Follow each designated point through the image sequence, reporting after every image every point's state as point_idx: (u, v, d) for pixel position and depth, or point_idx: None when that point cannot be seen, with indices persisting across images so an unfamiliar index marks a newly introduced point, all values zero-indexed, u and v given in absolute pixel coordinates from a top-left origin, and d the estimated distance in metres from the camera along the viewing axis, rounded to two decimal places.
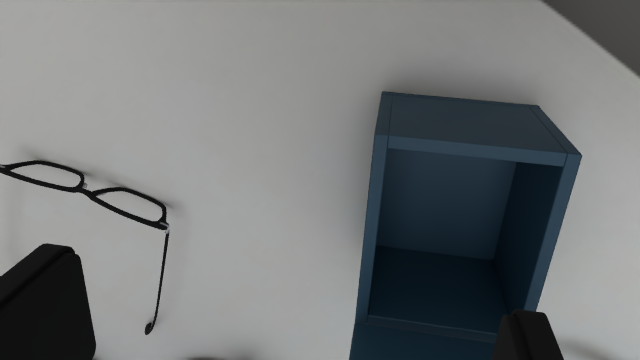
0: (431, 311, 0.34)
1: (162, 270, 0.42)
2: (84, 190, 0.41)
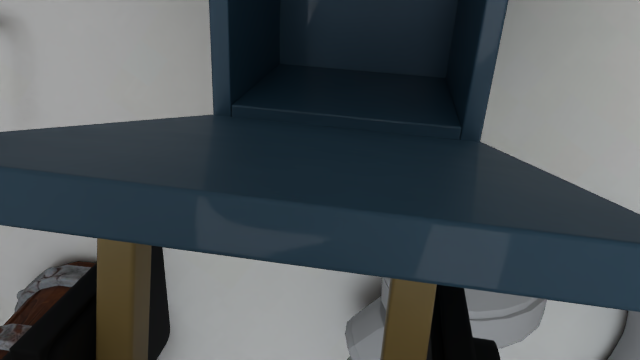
0: (335, 105, 0.22)
1: None
2: None
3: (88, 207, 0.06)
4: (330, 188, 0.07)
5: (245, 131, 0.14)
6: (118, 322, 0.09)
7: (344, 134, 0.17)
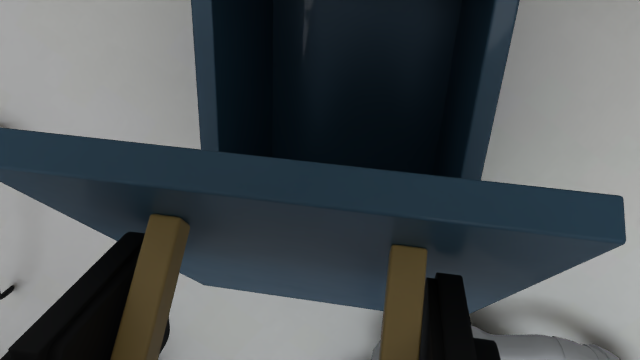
0: None
1: None
2: None
3: (170, 165, 0.08)
4: None
5: None
6: (141, 320, 0.09)
7: None
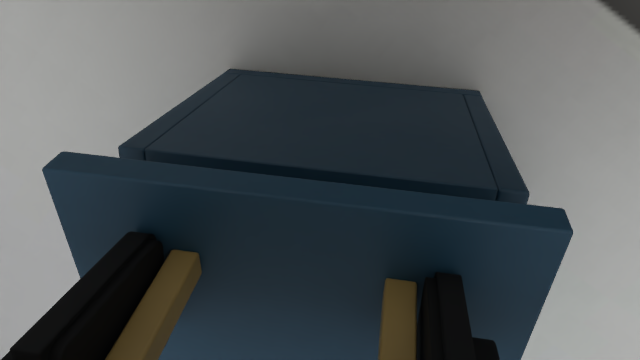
0: None
1: None
2: None
3: (212, 177, 0.11)
4: None
5: None
6: (148, 322, 0.10)
7: None
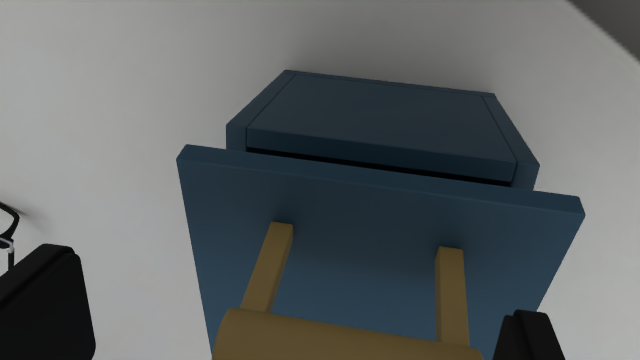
0: None
1: None
2: None
3: (309, 167, 0.14)
4: None
5: None
6: (267, 276, 0.13)
7: None
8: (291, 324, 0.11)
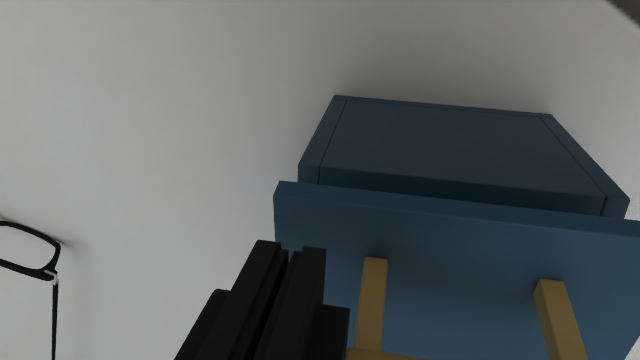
0: None
1: (53, 331, 0.32)
2: None
3: (408, 202, 0.14)
4: None
5: None
6: (373, 314, 0.13)
7: None
8: None
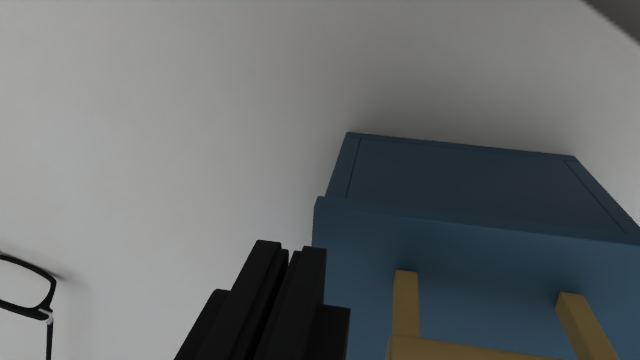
0: None
1: None
2: None
3: (437, 214, 0.15)
4: None
5: None
6: (410, 312, 0.14)
7: None
8: (457, 345, 0.12)
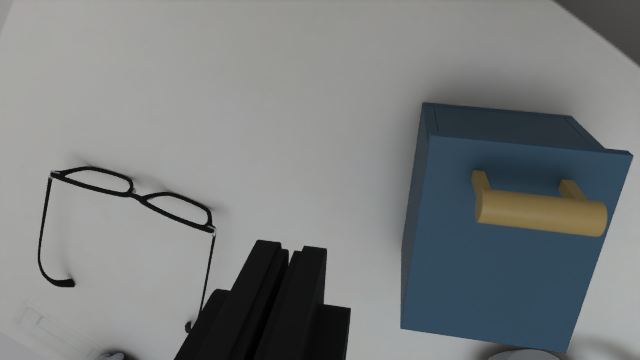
0: None
1: (208, 271, 0.44)
2: (135, 195, 0.43)
3: (496, 139, 0.29)
4: None
5: None
6: (485, 185, 0.27)
7: None
8: (512, 192, 0.25)
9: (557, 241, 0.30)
